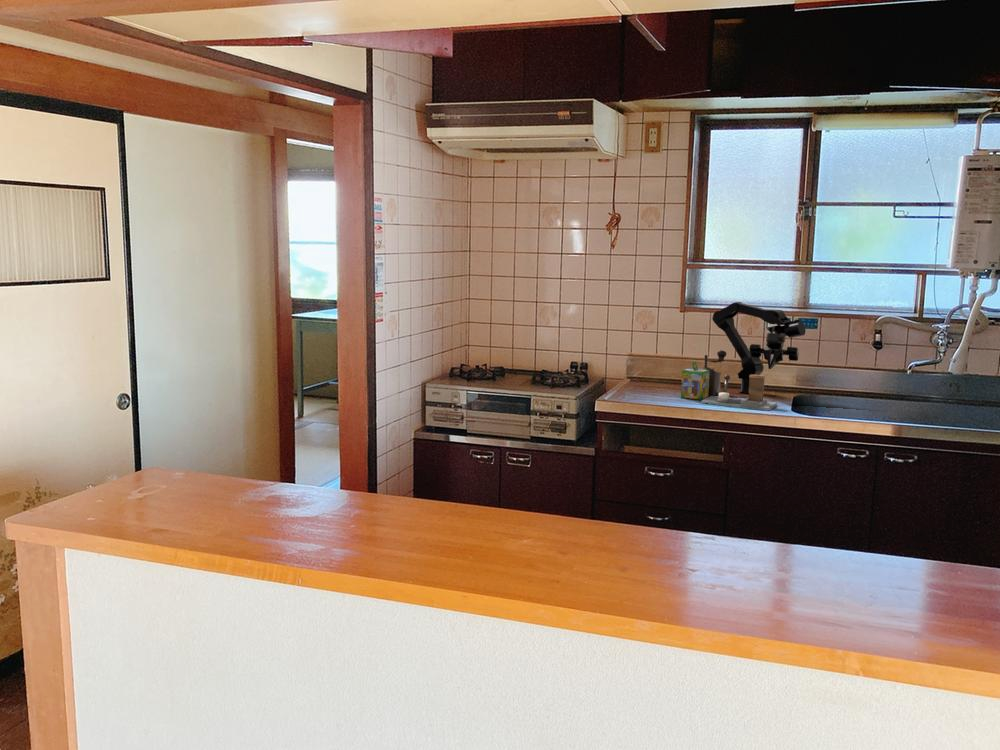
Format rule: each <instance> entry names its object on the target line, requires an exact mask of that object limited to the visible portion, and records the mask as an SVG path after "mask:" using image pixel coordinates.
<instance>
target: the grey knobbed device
mask: <svg viewBox="0 0 1000 750" xmlns="http://www.w3.org/2000/svg"><path fill="white" fill-rule="evenodd" d="M716 355H717V356H718V358H717V360H712V359H711V360H710V359H708V356H709V355H708V354H705V355H704V359H703V360H704V367H701V368H699V369H703V370H710V375H709V395H708V396H714V395H716V396H719V393H721V378H722V377H721V376H722V371H715V370H714V369H715V368H714V367H713V368H711V367H708V363H713V364H714V363H716V364H717V363H722V362H725V357H726V356H727V352H726V351H725V350H717V353H716Z"/></svg>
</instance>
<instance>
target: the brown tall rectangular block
mask: <svg viewBox="0 0 1000 750" xmlns="http://www.w3.org/2000/svg"><path fill="white" fill-rule="evenodd" d="M749 377H750V379H749V394H748V397H747V398H748V401H755V402H759V403H760V402H762V401H763V400H764V390H765V378H766V376H765V375H764V374H763V375H762V374H760V375H753V374H751V375H749Z"/></svg>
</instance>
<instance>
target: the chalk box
mask: <svg viewBox="0 0 1000 750" xmlns="http://www.w3.org/2000/svg"><path fill="white" fill-rule="evenodd" d="M691 363H692V368H686V369H683V370H681V387H680V391H681V392H680V399H685V398H689V400H700V401H702V400H704V399H706V398H707V397H708V395H709V375H710V370H703V369H700V368H698V365H697V361H692V362H691Z"/></svg>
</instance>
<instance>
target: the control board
mask: <svg viewBox="0 0 1000 750" xmlns="http://www.w3.org/2000/svg"><path fill="white" fill-rule="evenodd" d="M703 403H708V404H707V405H712V404H715V405H714V406H721V405H723V407H730V406H731V407H733V408H739V407H742V408H743V409H749V408H751V409H750V410H758V411H766V412H767V411H768V412H769V411H771V410H772V409H773V408H775V407H776V406H777V405H778V402H775V401H774V402H773V401H768V399H763V401H762V402H760V403H759V402H755V401H748V397H746V398H738V397H730V393H729V392H726V393H724V392H723V391H722V392H721V391H720V393H719V394H718V395H716V396H710V397H708V398H705V399H703V400H700V404H703ZM742 408H741V409H742Z"/></svg>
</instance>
